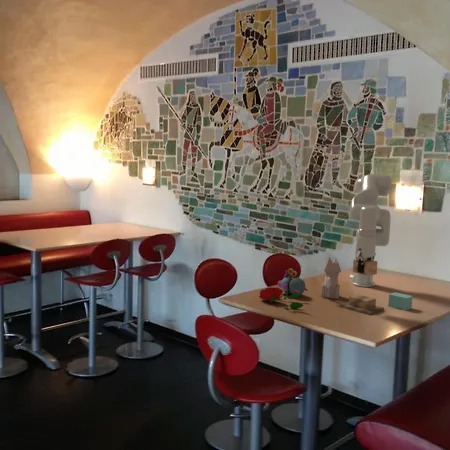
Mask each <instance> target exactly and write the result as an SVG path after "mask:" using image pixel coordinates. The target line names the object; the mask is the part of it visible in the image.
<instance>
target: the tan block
mask: <svg viewBox="0 0 450 450" xmlns="http://www.w3.org/2000/svg"><path fill="white" fill-rule="evenodd" d="M361 261H362V259H361ZM357 269H358V264H357V260H356V258H355V259H354V258H353V262H352V273H353V274H355V273H359V272H357ZM377 272H378V261H377V260H374V261H373V260H368V259H365V261H364V273H359V274H363V275H368V276H371V275H373V276H374V275H377Z"/></svg>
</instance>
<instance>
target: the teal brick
mask: <svg viewBox="0 0 450 450" xmlns="http://www.w3.org/2000/svg"><path fill="white" fill-rule="evenodd" d="M413 297H414V296H413V295H410V294H405V293H399V292H392V293H389V294H388V304H387V305H388V307H389V308H393V307H394V308H395V309H398V310H402V311H408V310H411V309H412V308H413ZM394 308H393V309H394Z"/></svg>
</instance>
